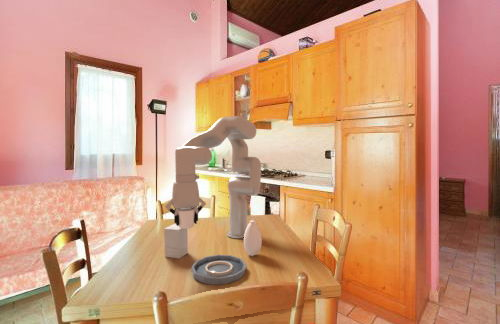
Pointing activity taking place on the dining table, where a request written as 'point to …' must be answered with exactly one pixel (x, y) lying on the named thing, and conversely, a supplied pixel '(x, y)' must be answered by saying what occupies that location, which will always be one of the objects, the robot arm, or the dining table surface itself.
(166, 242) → the supplement box
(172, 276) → the dining table surface
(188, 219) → the pale cup
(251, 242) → the air blower bulb
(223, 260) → the round tray
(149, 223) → the dining table surface
